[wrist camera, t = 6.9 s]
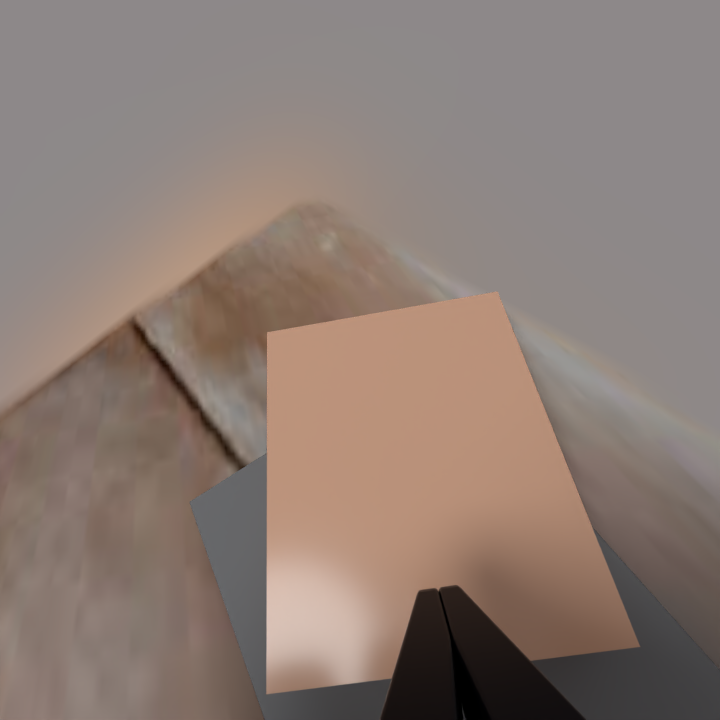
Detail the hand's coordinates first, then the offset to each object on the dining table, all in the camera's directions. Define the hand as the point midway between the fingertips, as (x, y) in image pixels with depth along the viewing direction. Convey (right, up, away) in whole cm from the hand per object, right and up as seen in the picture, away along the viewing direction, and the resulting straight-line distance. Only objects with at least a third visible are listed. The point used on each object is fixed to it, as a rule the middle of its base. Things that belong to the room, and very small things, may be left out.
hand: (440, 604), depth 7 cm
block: (+1, -4, +3) cm, 5 cm away
